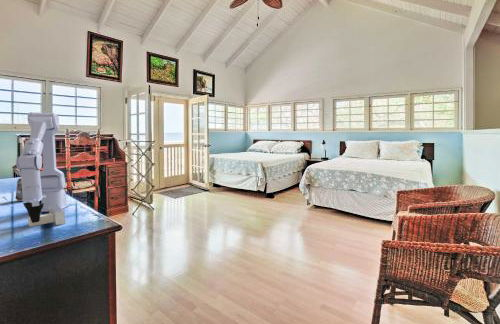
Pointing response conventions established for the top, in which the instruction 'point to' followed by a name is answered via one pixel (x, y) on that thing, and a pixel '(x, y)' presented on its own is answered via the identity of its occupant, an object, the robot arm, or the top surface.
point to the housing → (57, 214)
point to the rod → (42, 220)
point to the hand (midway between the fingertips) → (34, 220)
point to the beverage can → (19, 190)
